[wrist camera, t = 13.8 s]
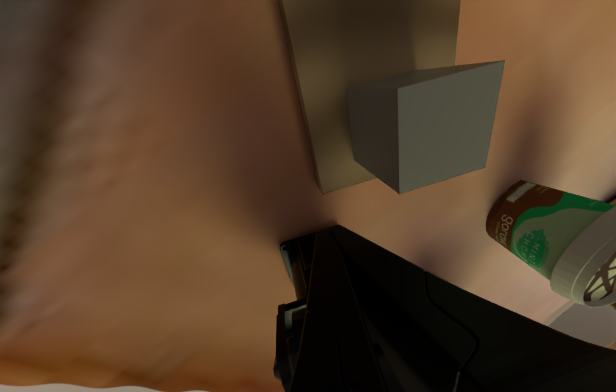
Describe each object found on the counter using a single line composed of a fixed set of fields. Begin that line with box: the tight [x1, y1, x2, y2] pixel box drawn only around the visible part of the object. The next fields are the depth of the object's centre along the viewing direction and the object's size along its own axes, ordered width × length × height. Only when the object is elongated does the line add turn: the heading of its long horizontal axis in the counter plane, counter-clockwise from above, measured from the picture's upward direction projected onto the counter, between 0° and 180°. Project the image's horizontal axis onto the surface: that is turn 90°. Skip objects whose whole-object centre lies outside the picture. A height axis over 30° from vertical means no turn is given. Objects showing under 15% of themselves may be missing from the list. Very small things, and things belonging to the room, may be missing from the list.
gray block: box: [346, 60, 505, 194], centre depth 14 cm, size 6×6×7 cm
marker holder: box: [278, 0, 460, 194], centre depth 13 cm, size 22×12×7 cm, turn 12°
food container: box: [486, 180, 616, 308], centre depth 24 cm, size 12×6×10 cm, turn 27°
